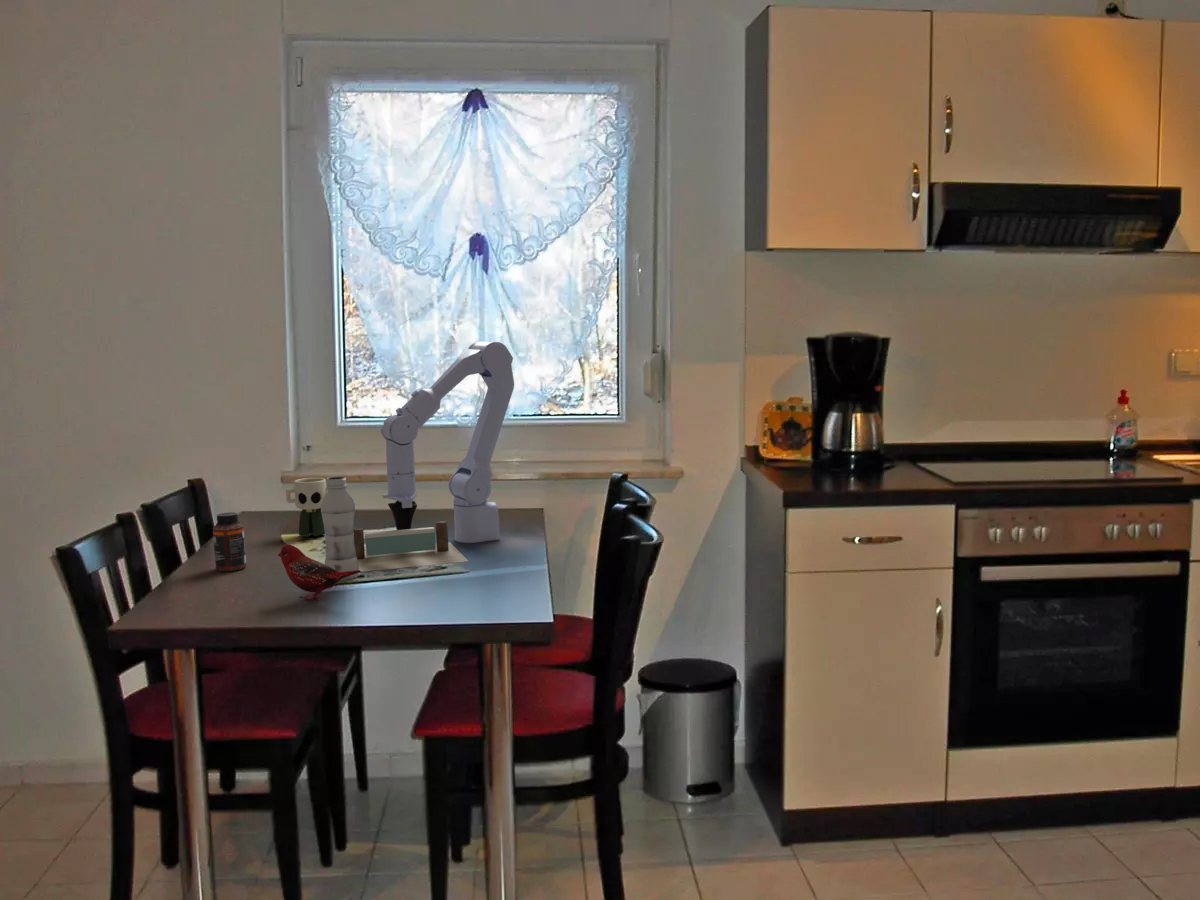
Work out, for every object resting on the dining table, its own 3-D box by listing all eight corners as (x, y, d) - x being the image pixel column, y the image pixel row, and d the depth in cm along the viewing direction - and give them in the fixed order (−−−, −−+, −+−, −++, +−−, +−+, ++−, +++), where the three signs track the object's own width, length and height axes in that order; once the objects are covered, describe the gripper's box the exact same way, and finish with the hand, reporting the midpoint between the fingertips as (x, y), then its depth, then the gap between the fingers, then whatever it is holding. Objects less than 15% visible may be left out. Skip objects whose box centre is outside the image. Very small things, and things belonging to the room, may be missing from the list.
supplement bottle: (252, 566, 233) (249, 511, 231) (234, 573, 227) (230, 517, 226) (228, 564, 235) (224, 510, 233) (209, 571, 229) (205, 515, 228)
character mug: (286, 540, 258) (282, 483, 256) (290, 534, 265) (287, 478, 263) (335, 538, 259) (332, 481, 257) (338, 531, 266) (335, 476, 264)
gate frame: (450, 546, 246) (448, 514, 246) (468, 566, 228) (467, 531, 227) (346, 556, 240) (344, 523, 239) (356, 577, 221) (354, 541, 220)
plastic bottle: (329, 588, 213) (323, 482, 210) (320, 580, 219) (314, 477, 216) (363, 583, 216) (358, 478, 213) (354, 576, 222) (348, 474, 219)
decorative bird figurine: (285, 595, 208) (281, 541, 207) (367, 603, 201) (364, 547, 200) (274, 599, 205) (271, 545, 204) (357, 607, 199) (354, 550, 197)
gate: (434, 548, 238) (433, 527, 238) (435, 549, 237) (434, 528, 236) (366, 554, 234) (365, 532, 233) (367, 556, 232) (366, 534, 232)
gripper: (377, 469, 245) (380, 531, 247) (386, 478, 231) (389, 544, 233) (410, 467, 247) (413, 529, 249) (421, 476, 233) (423, 541, 235)
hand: (403, 536), depth 241 cm, fingers closed
